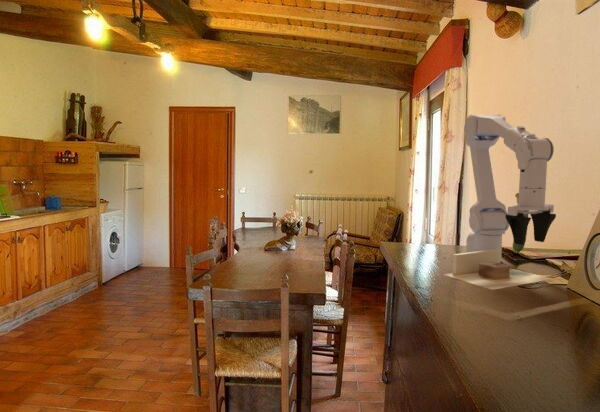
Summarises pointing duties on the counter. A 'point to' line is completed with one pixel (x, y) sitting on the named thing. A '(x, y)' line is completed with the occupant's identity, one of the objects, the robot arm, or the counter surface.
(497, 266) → the walnut block
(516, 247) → the vegetable
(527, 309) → the counter surface
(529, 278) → the birch board
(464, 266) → the beige rectangular slab
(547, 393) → the counter surface
